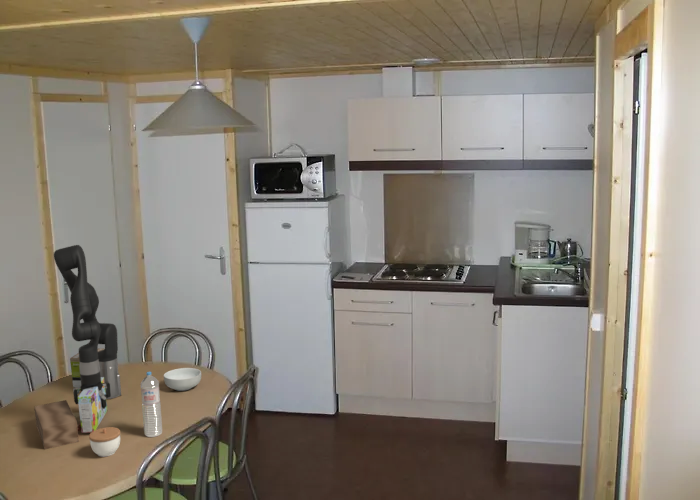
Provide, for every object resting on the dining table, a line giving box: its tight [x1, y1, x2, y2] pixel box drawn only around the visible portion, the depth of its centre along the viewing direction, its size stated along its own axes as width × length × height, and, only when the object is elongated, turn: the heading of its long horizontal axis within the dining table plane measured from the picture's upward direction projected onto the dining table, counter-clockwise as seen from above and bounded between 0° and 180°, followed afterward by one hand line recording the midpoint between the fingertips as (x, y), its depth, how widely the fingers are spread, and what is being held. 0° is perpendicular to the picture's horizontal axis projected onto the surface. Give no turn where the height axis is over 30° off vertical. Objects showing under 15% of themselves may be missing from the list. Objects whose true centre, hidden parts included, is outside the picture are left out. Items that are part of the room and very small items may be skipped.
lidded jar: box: [88, 426, 121, 458], centre depth 253 cm, size 11×11×9 cm
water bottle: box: [139, 371, 163, 438], centre depth 267 cm, size 7×7×25 cm
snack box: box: [77, 377, 108, 434], centre depth 278 cm, size 21×6×15 cm, turn 6°
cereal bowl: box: [163, 367, 202, 392], centre depth 317 cm, size 17×17×7 cm
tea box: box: [69, 347, 105, 388], centre depth 327 cm, size 15×10×15 cm, turn 172°
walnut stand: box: [34, 399, 80, 450], centre depth 271 cm, size 12×26×8 cm, turn 30°
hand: (93, 410), depth 278 cm, fingers closed on snack box, 7 cm apart
